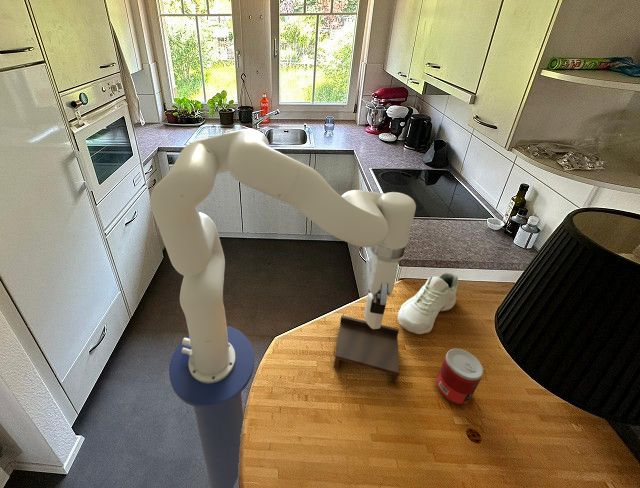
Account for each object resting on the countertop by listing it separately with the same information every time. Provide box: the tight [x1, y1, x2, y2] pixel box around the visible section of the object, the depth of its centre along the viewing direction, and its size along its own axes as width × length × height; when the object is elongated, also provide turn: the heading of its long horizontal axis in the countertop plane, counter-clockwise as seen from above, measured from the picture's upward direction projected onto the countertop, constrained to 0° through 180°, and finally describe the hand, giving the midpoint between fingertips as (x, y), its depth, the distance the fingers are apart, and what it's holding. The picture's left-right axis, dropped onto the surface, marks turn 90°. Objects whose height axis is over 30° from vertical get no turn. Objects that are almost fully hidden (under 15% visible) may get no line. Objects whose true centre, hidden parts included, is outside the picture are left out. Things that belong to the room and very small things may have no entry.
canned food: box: [436, 348, 484, 405], centre depth 80 cm, size 8×8×11 cm
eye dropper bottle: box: [363, 288, 385, 329], centre depth 81 cm, size 4×6×12 cm
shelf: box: [333, 315, 400, 385], centre depth 89 cm, size 16×12×7 cm
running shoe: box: [397, 272, 459, 335], centre depth 101 cm, size 11×27×14 cm, turn 130°
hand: (375, 302), depth 81 cm, fingers closed on eye dropper bottle, 5 cm apart
